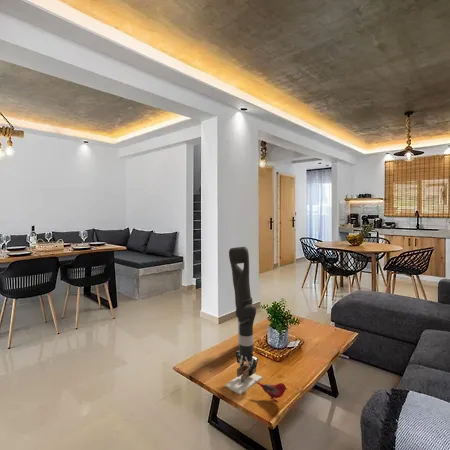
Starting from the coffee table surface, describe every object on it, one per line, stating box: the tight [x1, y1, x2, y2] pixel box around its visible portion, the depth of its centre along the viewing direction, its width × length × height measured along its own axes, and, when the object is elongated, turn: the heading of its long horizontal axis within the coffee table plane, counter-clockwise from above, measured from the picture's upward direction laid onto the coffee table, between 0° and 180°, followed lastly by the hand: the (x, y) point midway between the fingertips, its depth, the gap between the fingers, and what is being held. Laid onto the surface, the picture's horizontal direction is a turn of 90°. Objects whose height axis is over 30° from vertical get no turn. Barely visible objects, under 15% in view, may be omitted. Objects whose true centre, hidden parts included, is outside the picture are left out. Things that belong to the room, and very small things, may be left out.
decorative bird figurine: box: [255, 381, 288, 402], centre depth 147 cm, size 3×18×10 cm, turn 53°
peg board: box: [224, 373, 263, 395], centre depth 161 cm, size 18×10×4 cm, turn 137°
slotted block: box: [236, 362, 257, 380], centre depth 162 cm, size 10×5×4 cm, turn 137°
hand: (246, 373), depth 163 cm, fingers closed on slotted block, 5 cm apart
